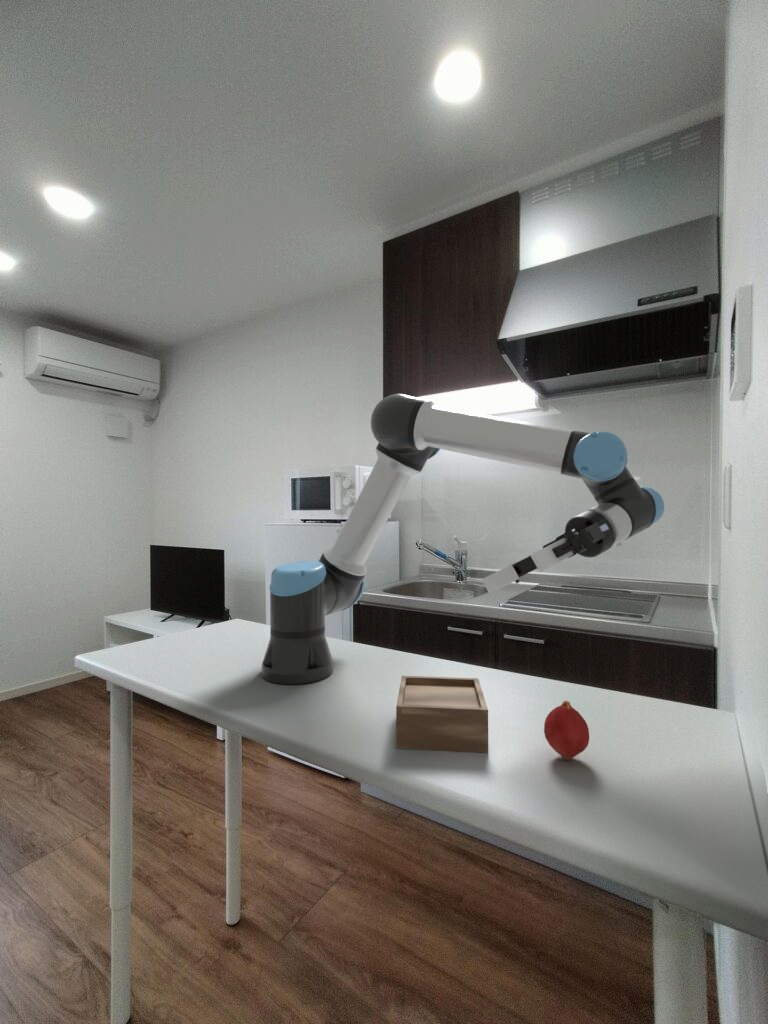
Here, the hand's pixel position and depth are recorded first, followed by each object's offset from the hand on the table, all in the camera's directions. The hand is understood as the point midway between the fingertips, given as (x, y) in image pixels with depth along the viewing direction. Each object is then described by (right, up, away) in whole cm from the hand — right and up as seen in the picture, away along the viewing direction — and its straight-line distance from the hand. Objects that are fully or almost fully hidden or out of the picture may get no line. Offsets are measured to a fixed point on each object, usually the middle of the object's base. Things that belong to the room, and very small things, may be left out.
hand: (509, 575), depth 70 cm
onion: (+6, -24, -7) cm, 26 cm away
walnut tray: (-10, -24, +1) cm, 26 cm away
